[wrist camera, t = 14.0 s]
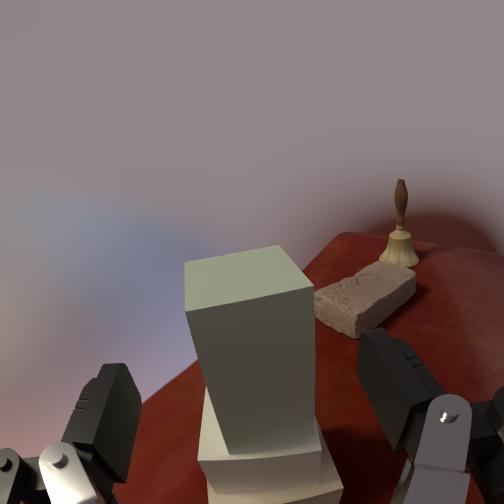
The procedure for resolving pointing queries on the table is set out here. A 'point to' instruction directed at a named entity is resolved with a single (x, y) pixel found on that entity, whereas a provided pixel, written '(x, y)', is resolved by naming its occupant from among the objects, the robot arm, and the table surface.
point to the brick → (364, 298)
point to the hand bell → (400, 234)
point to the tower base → (293, 499)
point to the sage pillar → (254, 345)
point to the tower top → (256, 461)
